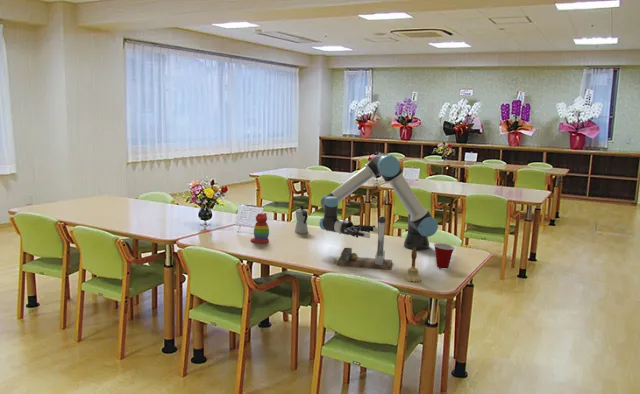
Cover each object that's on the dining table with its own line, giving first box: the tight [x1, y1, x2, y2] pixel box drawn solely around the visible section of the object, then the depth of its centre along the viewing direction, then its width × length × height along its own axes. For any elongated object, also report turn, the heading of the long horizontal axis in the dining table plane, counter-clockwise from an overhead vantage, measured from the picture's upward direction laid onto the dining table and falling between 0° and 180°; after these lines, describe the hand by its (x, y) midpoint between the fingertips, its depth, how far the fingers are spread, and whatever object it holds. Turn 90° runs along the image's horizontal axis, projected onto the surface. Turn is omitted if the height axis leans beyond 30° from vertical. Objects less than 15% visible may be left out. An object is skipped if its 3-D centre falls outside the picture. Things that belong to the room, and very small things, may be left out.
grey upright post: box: [374, 215, 387, 265], centre depth 286 cm, size 4×11×25 cm, turn 169°
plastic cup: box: [433, 242, 456, 269], centre depth 287 cm, size 11×11×12 cm
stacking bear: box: [250, 212, 270, 245], centre depth 330 cm, size 11×10×18 cm
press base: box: [336, 247, 393, 271], centre depth 290 cm, size 28×14×6 cm, turn 78°
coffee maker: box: [294, 205, 309, 235], centre depth 357 cm, size 15×9×18 cm, turn 23°
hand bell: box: [403, 248, 422, 283], centre depth 264 cm, size 8×8×16 cm
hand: (376, 233), depth 287 cm, fingers open, 13 cm apart
